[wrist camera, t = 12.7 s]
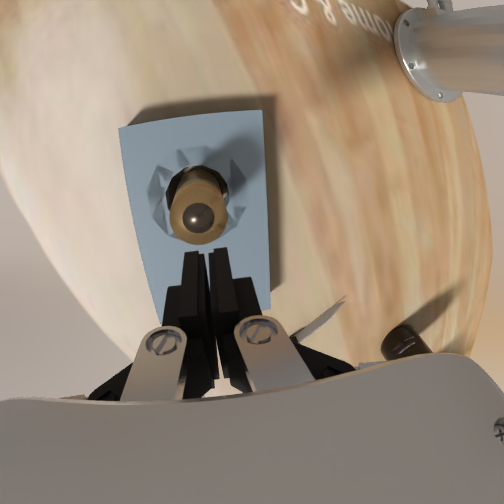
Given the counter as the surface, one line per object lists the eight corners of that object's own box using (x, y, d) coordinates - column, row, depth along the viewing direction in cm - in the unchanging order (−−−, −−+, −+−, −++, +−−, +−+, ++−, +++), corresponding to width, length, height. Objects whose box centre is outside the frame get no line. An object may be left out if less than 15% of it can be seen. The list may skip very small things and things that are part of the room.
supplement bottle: (395, 321, 40) (437, 373, 29) (418, 325, 42) (457, 372, 31) (371, 353, 42) (406, 407, 32) (396, 355, 44) (429, 403, 34)
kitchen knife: (239, 376, 39) (241, 386, 37) (235, 373, 38) (237, 384, 37) (343, 299, 36) (349, 308, 34) (339, 295, 35) (346, 303, 34)
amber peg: (174, 172, 25) (164, 194, 18) (217, 167, 26) (225, 186, 19) (180, 213, 27) (174, 248, 20) (221, 207, 28) (230, 241, 20)
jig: (125, 127, 22) (118, 128, 20) (256, 110, 24) (262, 109, 22) (162, 309, 31) (160, 323, 29) (265, 295, 33) (270, 308, 31)
